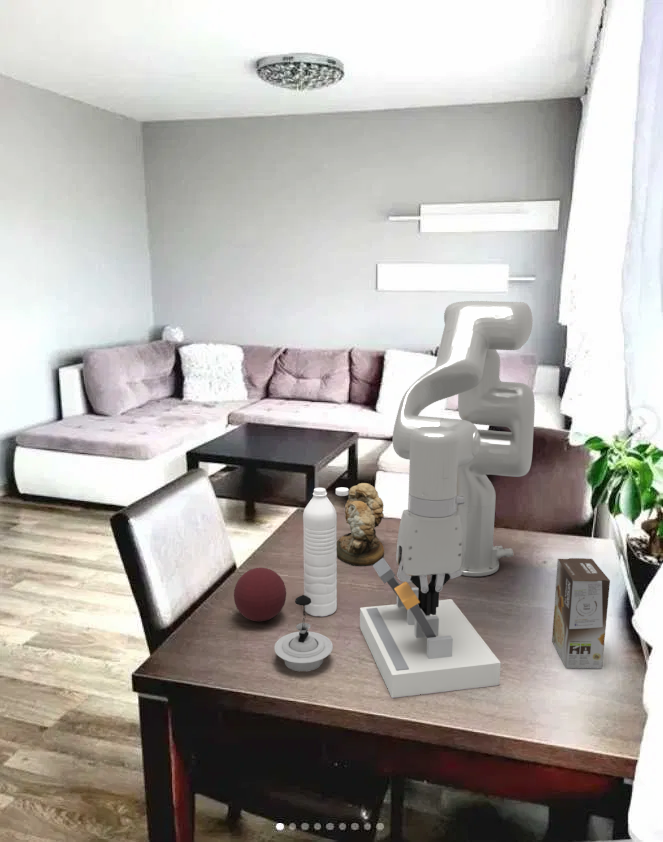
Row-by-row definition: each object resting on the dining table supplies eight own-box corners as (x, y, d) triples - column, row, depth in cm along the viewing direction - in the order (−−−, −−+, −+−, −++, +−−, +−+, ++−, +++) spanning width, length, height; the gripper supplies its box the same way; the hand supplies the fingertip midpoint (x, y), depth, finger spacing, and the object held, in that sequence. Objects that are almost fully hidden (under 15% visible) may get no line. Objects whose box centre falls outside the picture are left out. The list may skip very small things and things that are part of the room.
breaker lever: (435, 630, 115) (406, 581, 112) (445, 646, 111) (415, 594, 107) (423, 638, 115) (394, 588, 112) (432, 654, 110) (402, 602, 107)
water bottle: (302, 616, 130) (300, 493, 125) (305, 600, 137) (304, 483, 131) (347, 618, 130) (347, 494, 125) (348, 602, 136) (349, 484, 131)
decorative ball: (294, 609, 133) (293, 562, 131) (274, 635, 124) (273, 584, 122) (247, 602, 136) (246, 556, 134) (225, 626, 127) (223, 577, 125)
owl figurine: (331, 537, 170) (331, 472, 166) (377, 536, 171) (379, 471, 167) (338, 567, 152) (338, 495, 149) (389, 566, 153) (391, 494, 150)
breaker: (415, 600, 126) (383, 557, 123) (423, 613, 121) (390, 569, 118) (405, 607, 126) (372, 565, 123) (413, 621, 121) (379, 577, 118)
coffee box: (603, 669, 113) (612, 581, 110) (565, 668, 113) (572, 580, 110) (585, 640, 122) (592, 557, 119) (549, 639, 122) (555, 557, 119)
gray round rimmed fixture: (323, 612, 107) (339, 585, 116) (264, 604, 110) (285, 578, 119) (323, 682, 110) (339, 649, 119) (265, 672, 112) (286, 641, 122)
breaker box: (450, 618, 130) (452, 583, 128) (499, 685, 109) (501, 644, 107) (359, 627, 127) (360, 591, 125) (391, 698, 105) (392, 656, 104)
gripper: (466, 495, 112) (461, 597, 116) (380, 500, 109) (377, 605, 113) (485, 509, 105) (480, 618, 108) (393, 515, 102) (390, 626, 105)
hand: (428, 611), depth 110 cm, fingers closed
